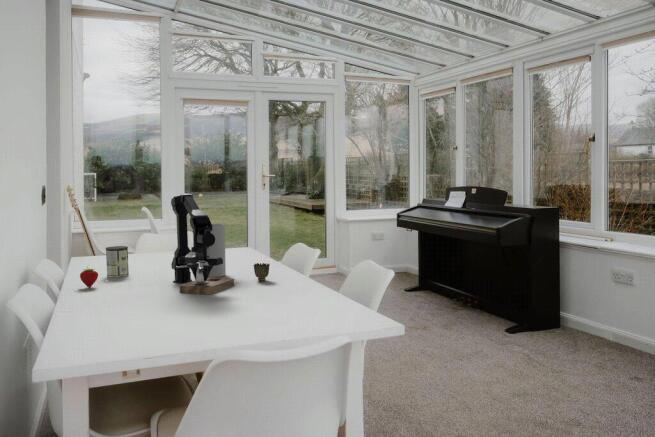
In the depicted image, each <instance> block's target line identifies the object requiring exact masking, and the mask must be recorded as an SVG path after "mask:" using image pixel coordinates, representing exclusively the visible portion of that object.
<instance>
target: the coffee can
mask: <svg viewBox="0 0 655 437" xmlns="http://www.w3.org/2000/svg"><path fill="white" fill-rule="evenodd" d="M128 248H129V247H128V246H125V245H117V246H107V247H105V258H106V260H105V261H106V277H107V278H123V277H128V276H129V249H128Z"/></svg>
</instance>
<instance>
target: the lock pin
mask: <svg viewBox="0 0 655 437" xmlns="http://www.w3.org/2000/svg"><path fill="white" fill-rule="evenodd" d="M196 285H201V286H204V285H206V281H204V268H203V267H200V266H199V267H197V268H196Z"/></svg>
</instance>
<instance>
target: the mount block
mask: <svg viewBox="0 0 655 437" xmlns="http://www.w3.org/2000/svg"><path fill="white" fill-rule="evenodd" d="M234 286H235V278H231V277H229V278H228V277H208V278H207V281H206V285H204V286H201V285H196V280H195V279H194V280H192V281H189V282H186V283H182V284H180V285H179V293H180V294H181V293H182V294H183V293H184V294H197V295H207V296H209V295H211V294H214V293H217V292H219V291H220V292H221V291H222V290H225V289H228V288H231V287H234Z"/></svg>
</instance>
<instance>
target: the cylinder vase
mask: <svg viewBox="0 0 655 437" xmlns="http://www.w3.org/2000/svg"><path fill="white" fill-rule="evenodd" d="M211 224H212V226H213V227H212V231H211V233H212V234H213V235H214V236H215V243H214V244H213V245H212V246H210V247H209V248H208V249H207V255H209V258H213V257H221V258H222V259H223V264H220V265H217V266H213V268H212V269H211V271H210V274H209V276H208V277H217V278H223V277H224V276H226V274H227V272H226V271H227V270H226V224H223V223H221V224H220V223H211ZM207 227H208V226H207ZM209 258H207V259H209ZM204 265H205V263H199V267H203V266H204Z"/></svg>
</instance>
